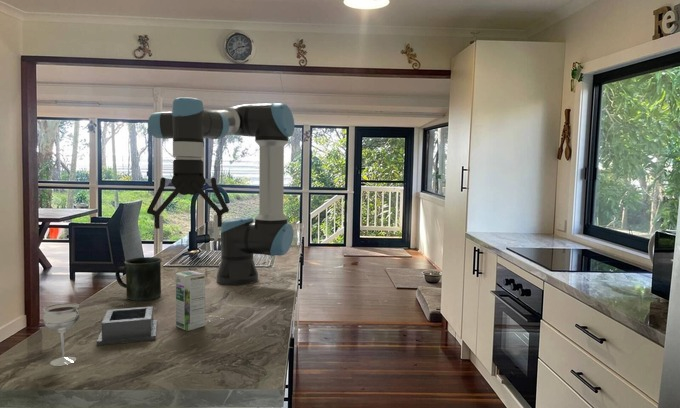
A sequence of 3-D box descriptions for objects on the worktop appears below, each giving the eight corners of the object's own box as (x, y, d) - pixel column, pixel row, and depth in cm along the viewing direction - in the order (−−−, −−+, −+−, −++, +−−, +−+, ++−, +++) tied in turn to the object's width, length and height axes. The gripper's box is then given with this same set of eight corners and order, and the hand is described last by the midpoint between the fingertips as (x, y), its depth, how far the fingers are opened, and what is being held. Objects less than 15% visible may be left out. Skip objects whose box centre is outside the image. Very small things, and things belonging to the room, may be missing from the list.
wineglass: (42, 369, 99) (40, 313, 98) (47, 357, 105) (45, 304, 104) (79, 364, 102) (77, 310, 101) (82, 353, 108) (80, 301, 107)
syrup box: (174, 326, 126) (174, 273, 125) (194, 321, 131) (193, 269, 130) (186, 331, 123) (185, 276, 121) (206, 326, 127) (205, 272, 126)
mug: (154, 302, 148) (153, 264, 147) (108, 301, 149) (107, 263, 148) (167, 292, 159) (167, 257, 158) (124, 291, 159) (123, 256, 158)
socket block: (157, 322, 129) (157, 304, 129) (155, 339, 117) (155, 319, 116) (104, 327, 125) (103, 309, 124) (96, 345, 113) (96, 325, 112)
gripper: (235, 160, 131) (235, 236, 132) (137, 158, 122) (138, 239, 124) (239, 159, 123) (239, 240, 125) (134, 157, 115) (136, 244, 117)
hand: (189, 240), depth 125 cm, fingers open, 13 cm apart
